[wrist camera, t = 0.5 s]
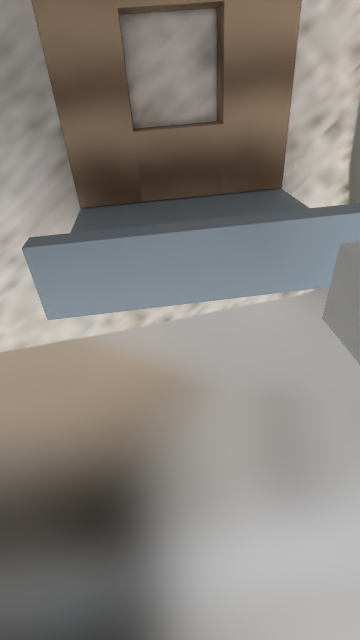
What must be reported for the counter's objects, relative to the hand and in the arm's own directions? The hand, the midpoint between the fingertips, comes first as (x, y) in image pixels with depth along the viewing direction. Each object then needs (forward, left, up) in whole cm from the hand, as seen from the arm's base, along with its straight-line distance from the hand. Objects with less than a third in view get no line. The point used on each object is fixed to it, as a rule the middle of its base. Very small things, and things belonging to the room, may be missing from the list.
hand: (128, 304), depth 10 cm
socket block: (-6, +4, -26) cm, 27 cm away
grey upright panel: (+3, +4, -26) cm, 26 cm away
